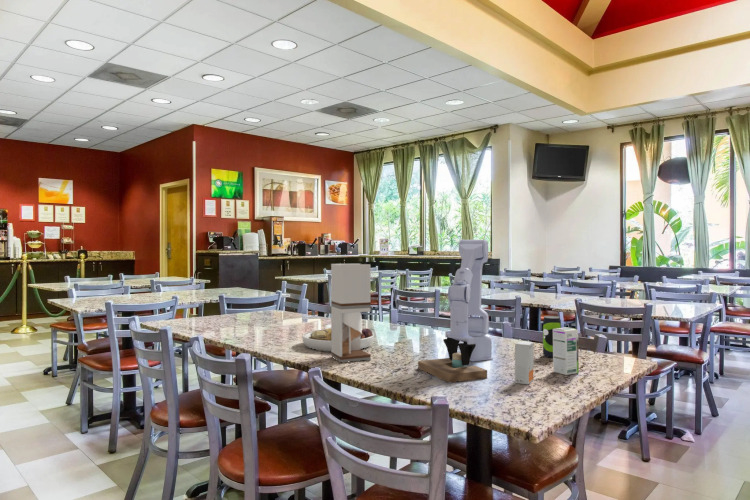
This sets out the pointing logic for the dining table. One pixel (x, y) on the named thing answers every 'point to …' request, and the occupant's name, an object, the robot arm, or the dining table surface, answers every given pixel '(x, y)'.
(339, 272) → the white cutaway tower
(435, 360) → the notched board
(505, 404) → the dining table surface
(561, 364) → the syrup box
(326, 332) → the bowl
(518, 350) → the skincare box
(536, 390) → the dining table surface
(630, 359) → the dining table surface
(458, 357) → the wooden bobbin
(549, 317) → the beverage can
